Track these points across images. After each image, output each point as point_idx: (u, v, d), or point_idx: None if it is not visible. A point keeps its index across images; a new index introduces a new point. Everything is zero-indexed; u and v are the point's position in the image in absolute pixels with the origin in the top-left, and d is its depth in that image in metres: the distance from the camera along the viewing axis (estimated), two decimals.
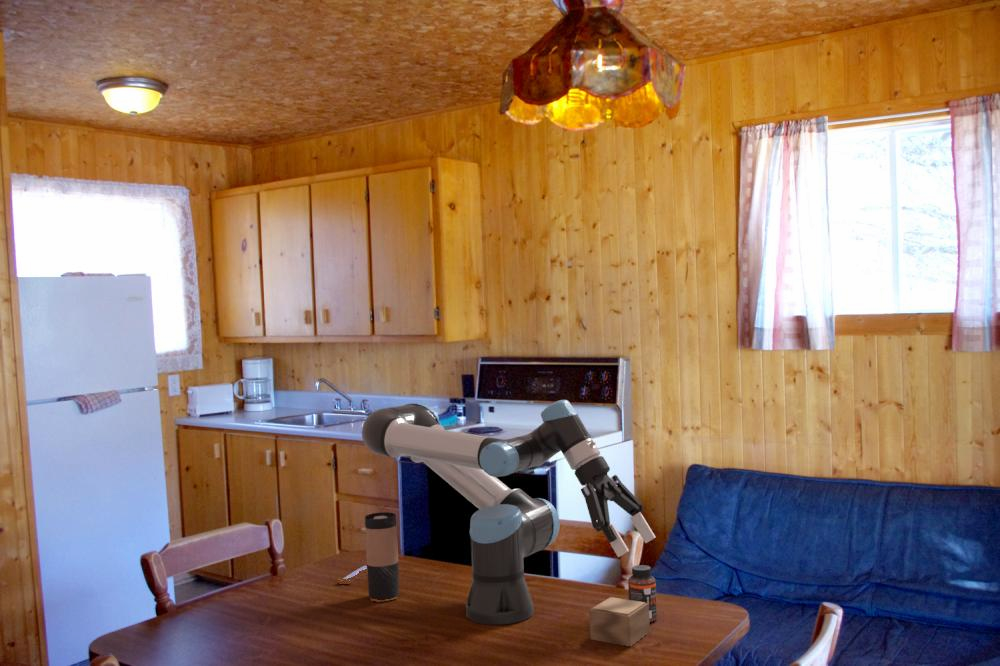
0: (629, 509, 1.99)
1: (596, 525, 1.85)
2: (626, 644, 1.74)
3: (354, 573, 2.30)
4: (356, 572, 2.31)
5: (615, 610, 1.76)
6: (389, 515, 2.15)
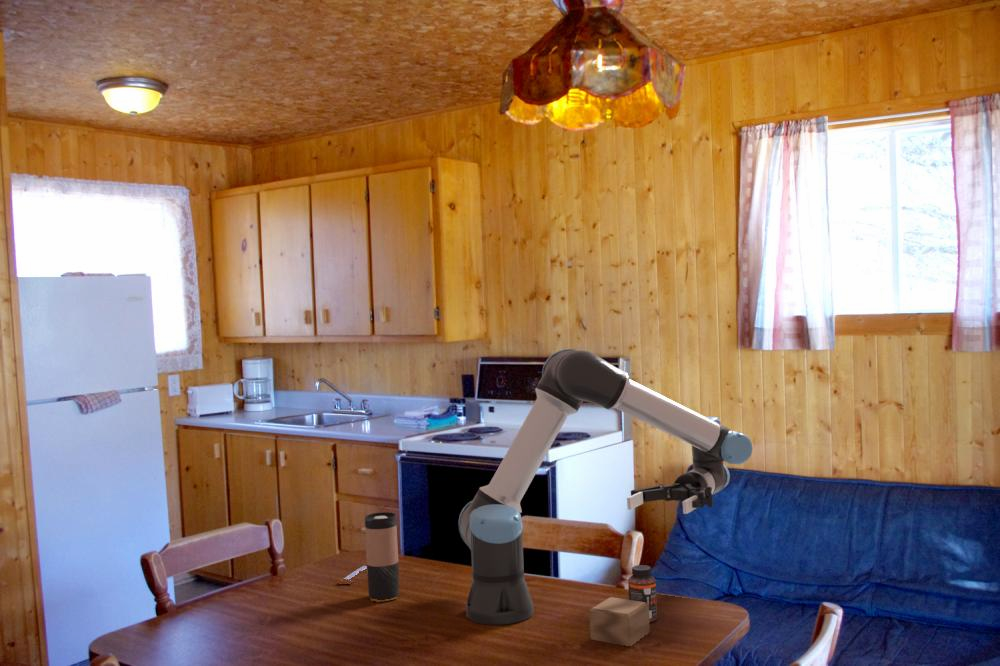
0: (647, 495, 2.06)
1: (712, 499, 1.96)
2: (626, 644, 1.74)
3: (354, 573, 2.30)
4: (356, 572, 2.31)
5: (615, 610, 1.76)
6: (389, 515, 2.15)
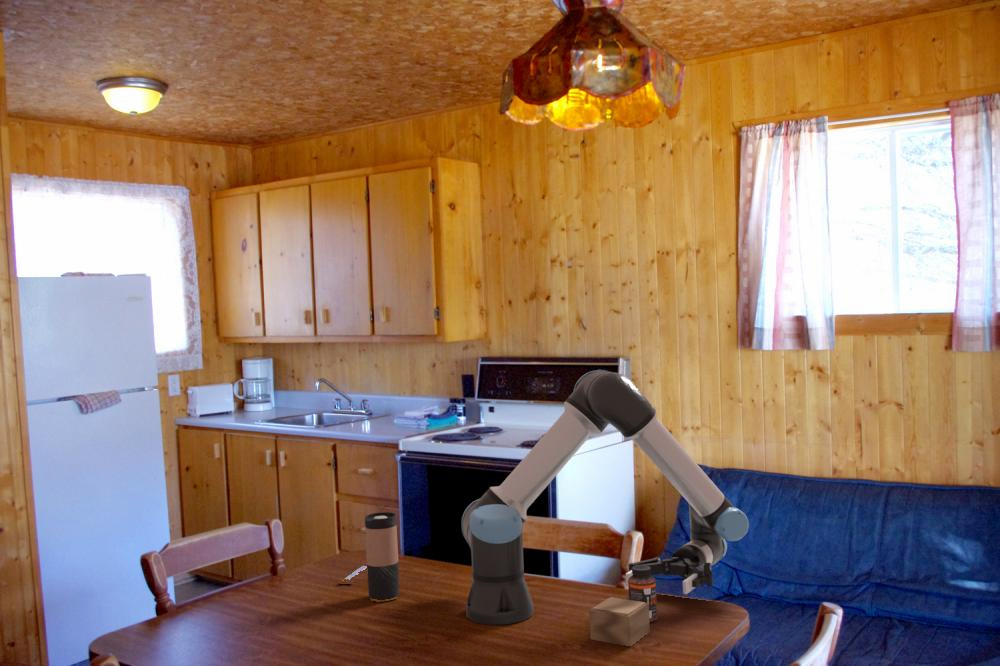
0: None
1: None
2: (626, 644, 1.74)
3: (354, 573, 2.30)
4: (356, 572, 2.31)
5: (615, 610, 1.76)
6: (389, 515, 2.15)
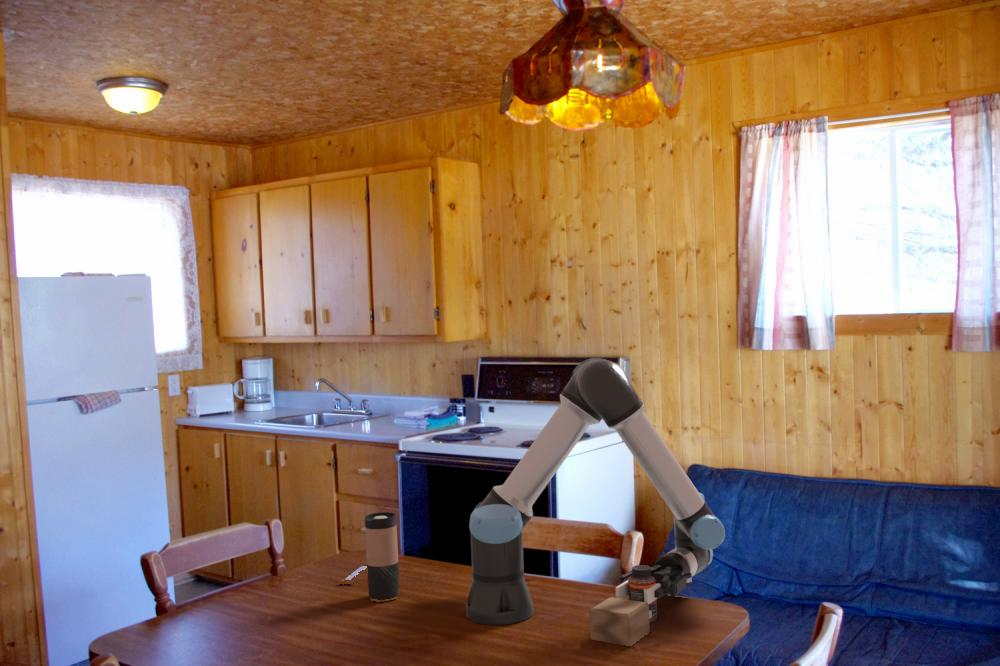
0: None
1: (675, 588, 1.87)
2: (626, 644, 1.74)
3: (354, 573, 2.29)
4: (356, 572, 2.30)
5: (615, 610, 1.76)
6: (389, 515, 2.15)
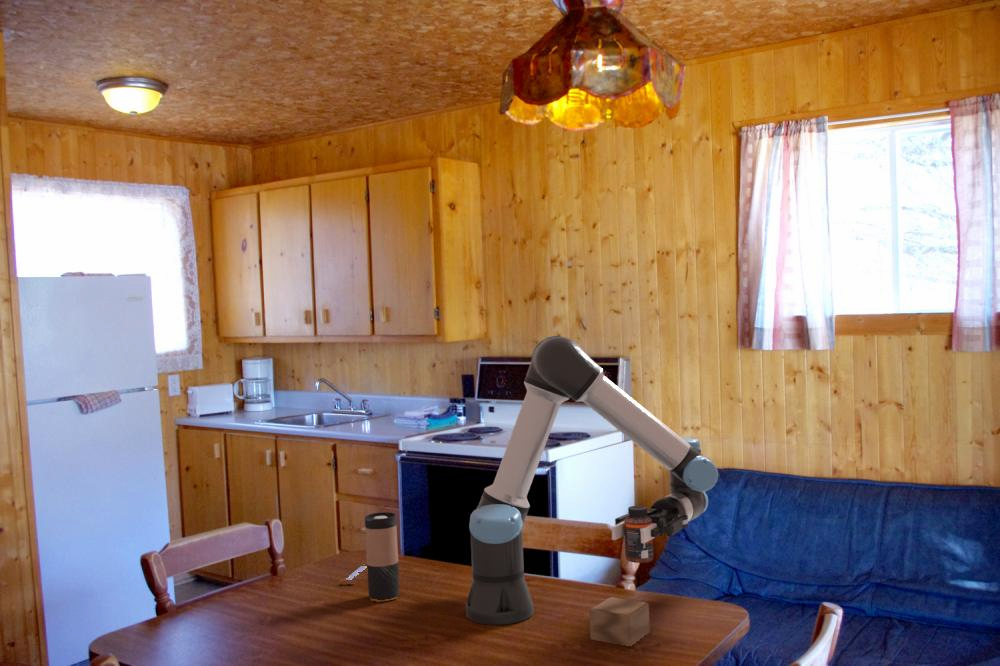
0: None
1: (671, 528, 1.85)
2: (626, 644, 1.74)
3: (355, 574, 2.29)
4: (356, 573, 2.30)
5: (615, 610, 1.76)
6: (389, 515, 2.15)
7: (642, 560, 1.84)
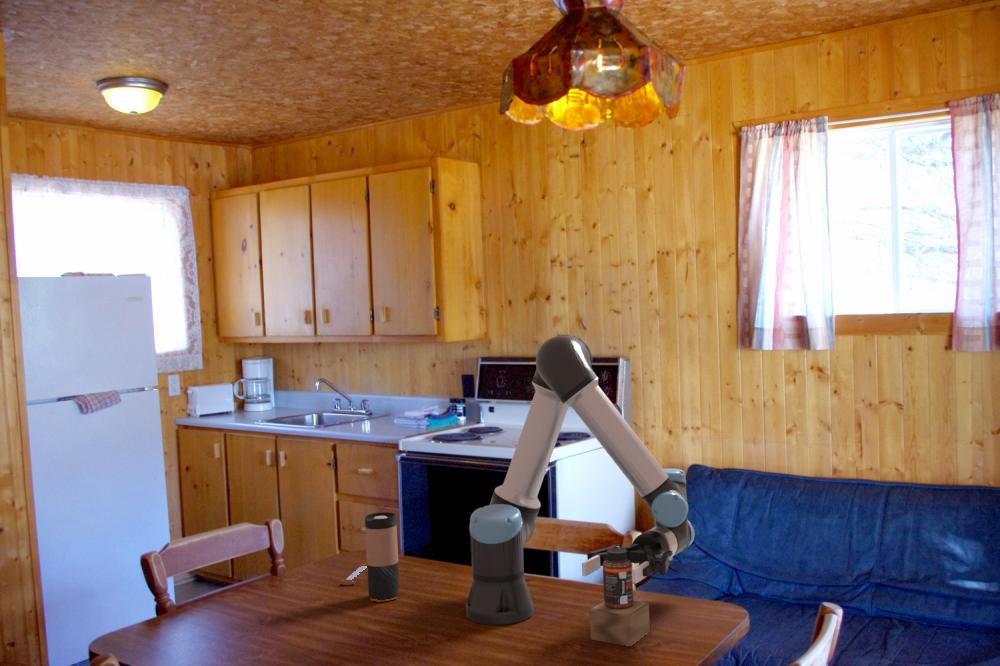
0: (604, 558, 1.86)
1: (665, 567, 1.77)
2: (626, 644, 1.74)
3: (355, 574, 2.29)
4: (356, 573, 2.30)
5: (615, 610, 1.76)
6: (389, 515, 2.15)
7: (621, 606, 1.77)
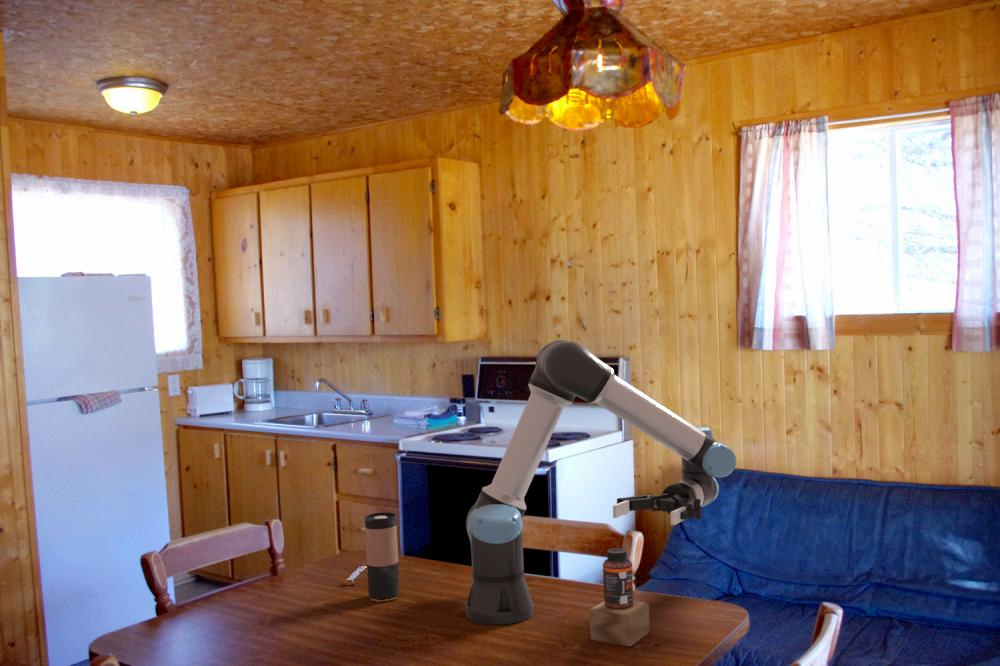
0: (633, 504, 1.99)
1: (701, 512, 1.89)
2: (626, 644, 1.74)
3: (355, 574, 2.29)
4: (356, 573, 2.30)
5: (615, 610, 1.76)
6: (389, 515, 2.15)
7: (621, 606, 1.77)
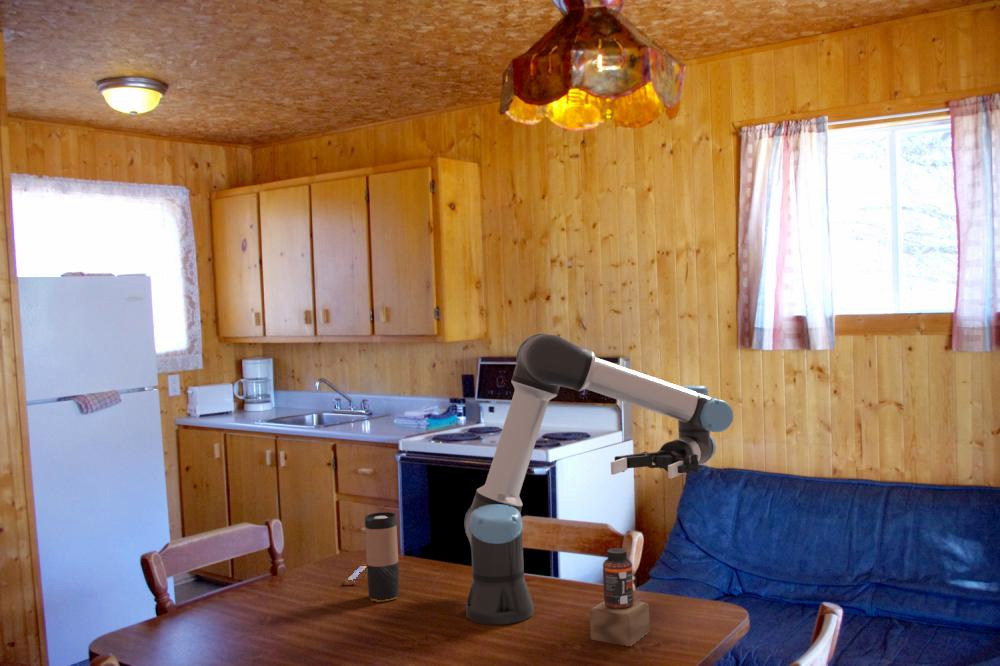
0: (631, 461, 2.00)
1: (698, 465, 1.90)
2: (626, 644, 1.74)
3: (355, 574, 2.29)
4: (356, 573, 2.30)
5: (615, 610, 1.76)
6: (389, 515, 2.15)
7: (621, 606, 1.77)
